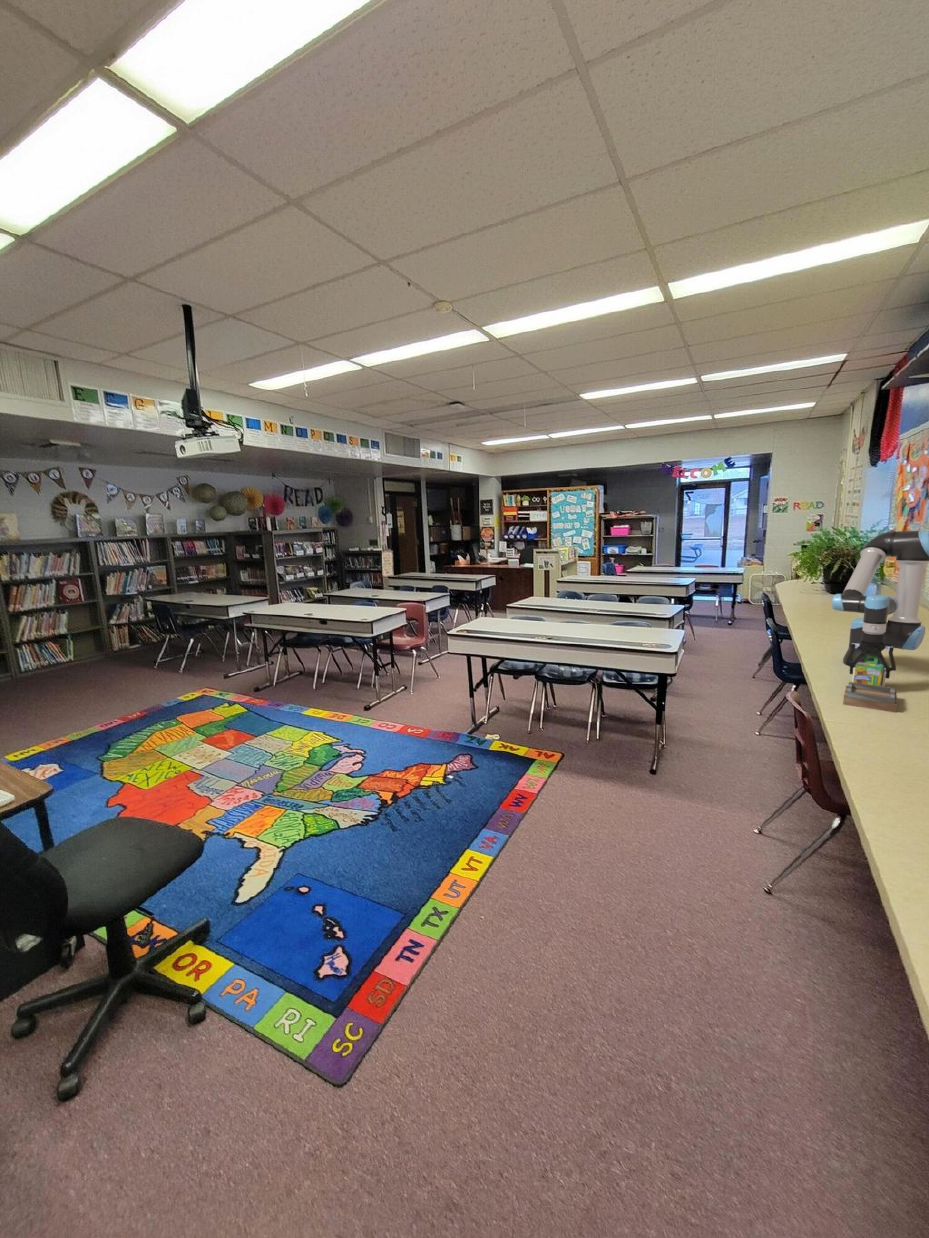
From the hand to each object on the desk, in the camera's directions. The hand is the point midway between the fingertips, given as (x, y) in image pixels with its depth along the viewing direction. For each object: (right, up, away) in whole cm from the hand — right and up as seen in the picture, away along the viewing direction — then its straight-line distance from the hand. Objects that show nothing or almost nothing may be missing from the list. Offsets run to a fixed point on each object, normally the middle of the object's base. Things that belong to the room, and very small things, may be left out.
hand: (868, 683), depth 210 cm
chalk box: (0, -3, +1) cm, 3 cm away
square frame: (-10, -6, -13) cm, 17 cm away
